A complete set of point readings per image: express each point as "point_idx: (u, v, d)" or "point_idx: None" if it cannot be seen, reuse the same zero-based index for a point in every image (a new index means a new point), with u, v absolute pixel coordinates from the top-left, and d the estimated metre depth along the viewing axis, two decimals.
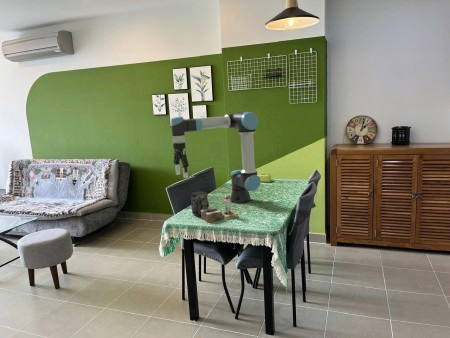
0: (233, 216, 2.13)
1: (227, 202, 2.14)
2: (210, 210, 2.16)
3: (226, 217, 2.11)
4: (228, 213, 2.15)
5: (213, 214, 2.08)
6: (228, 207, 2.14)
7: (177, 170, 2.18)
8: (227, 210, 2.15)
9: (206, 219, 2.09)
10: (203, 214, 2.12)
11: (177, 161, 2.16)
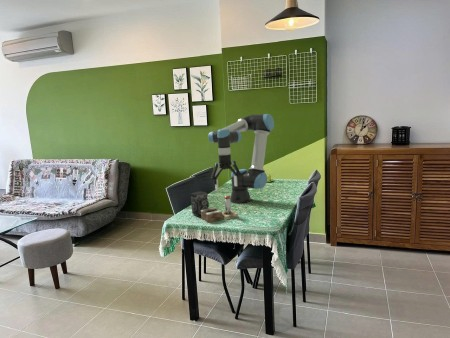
0: (233, 216, 2.13)
1: (227, 202, 2.14)
2: (210, 210, 2.16)
3: (226, 217, 2.11)
4: (228, 213, 2.15)
5: (213, 214, 2.08)
6: (228, 207, 2.14)
7: (234, 181, 2.16)
8: (227, 210, 2.15)
9: (206, 219, 2.09)
10: (203, 214, 2.12)
11: (233, 172, 2.15)
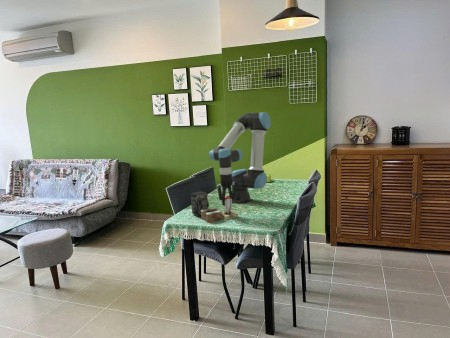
0: (233, 216, 2.13)
1: (227, 202, 2.14)
2: (210, 210, 2.16)
3: (226, 217, 2.11)
4: (228, 213, 2.15)
5: (213, 214, 2.08)
6: (228, 207, 2.14)
7: None
8: (227, 210, 2.15)
9: (206, 219, 2.09)
10: (203, 214, 2.12)
11: (229, 194, 2.16)
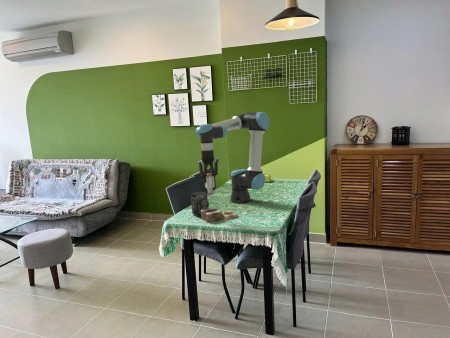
0: (233, 216, 2.13)
1: (209, 179, 2.07)
2: (210, 210, 2.16)
3: (226, 217, 2.11)
4: (210, 191, 2.09)
5: (213, 214, 2.08)
6: (210, 185, 2.08)
7: None
8: (209, 188, 2.08)
9: (206, 219, 2.09)
10: (203, 214, 2.12)
11: (211, 171, 2.09)
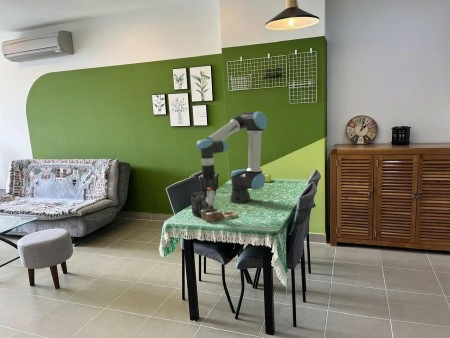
0: (233, 216, 2.13)
1: (209, 194, 2.09)
2: (210, 210, 2.16)
3: (226, 217, 2.11)
4: (210, 205, 2.10)
5: (213, 214, 2.08)
6: (210, 199, 2.10)
7: None
8: (209, 202, 2.10)
9: (206, 219, 2.09)
10: (203, 214, 2.12)
11: (212, 186, 2.11)
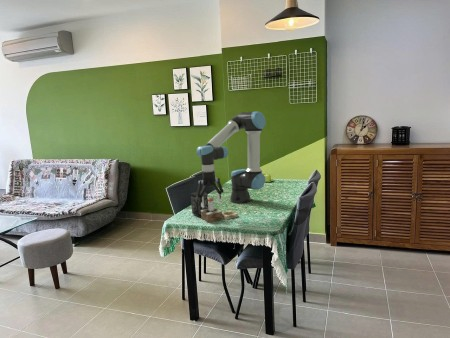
0: (233, 216, 2.13)
1: (210, 205, 2.10)
2: None
3: (226, 217, 2.11)
4: None
5: (213, 214, 2.08)
6: (211, 210, 2.11)
7: (217, 199, 2.14)
8: None
9: (206, 219, 2.09)
10: (203, 214, 2.12)
11: (216, 190, 2.13)
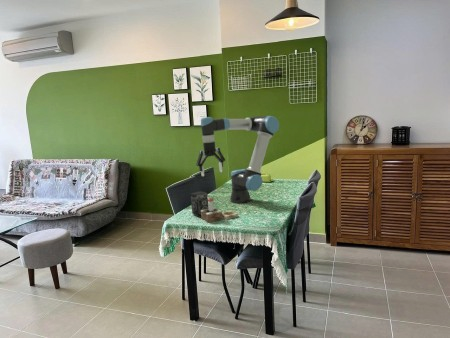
0: (233, 216, 2.13)
1: (210, 205, 2.10)
2: None
3: (226, 217, 2.11)
4: None
5: (213, 214, 2.08)
6: (211, 210, 2.11)
7: (220, 168, 2.23)
8: None
9: (206, 219, 2.09)
10: (203, 214, 2.12)
11: (218, 159, 2.21)
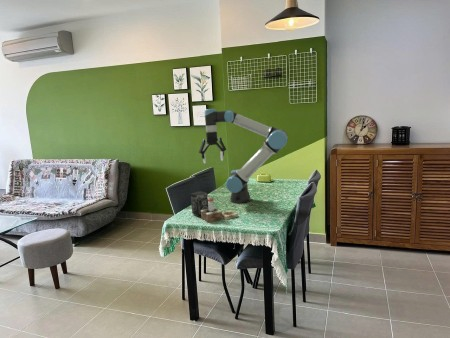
0: (233, 216, 2.13)
1: (210, 205, 2.10)
2: None
3: (226, 217, 2.11)
4: None
5: (213, 214, 2.08)
6: (211, 210, 2.11)
7: (221, 156, 2.40)
8: None
9: (206, 219, 2.09)
10: (203, 214, 2.12)
11: (219, 148, 2.38)
